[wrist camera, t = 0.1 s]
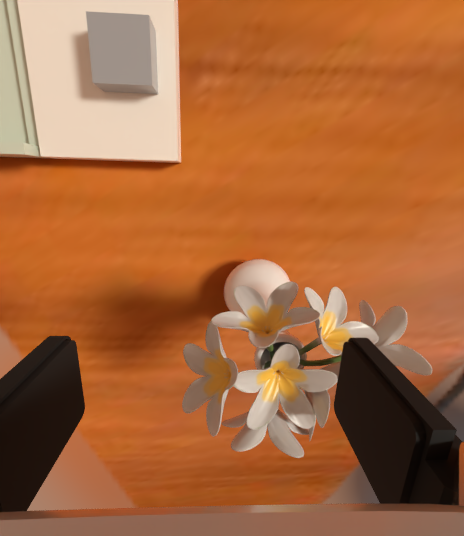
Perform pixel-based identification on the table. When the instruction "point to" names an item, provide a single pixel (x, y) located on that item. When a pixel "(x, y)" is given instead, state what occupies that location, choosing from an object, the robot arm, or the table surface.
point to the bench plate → (92, 97)
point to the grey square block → (123, 52)
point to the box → (15, 89)
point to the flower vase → (283, 356)
